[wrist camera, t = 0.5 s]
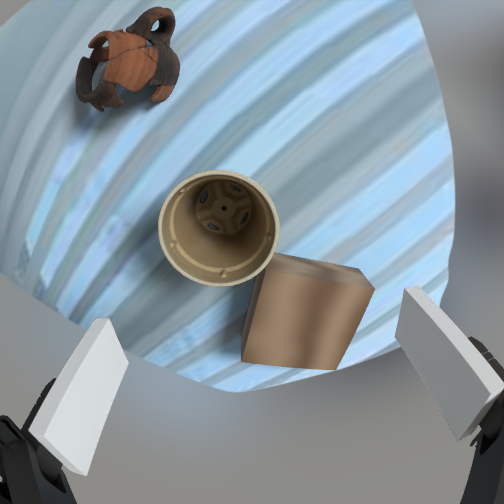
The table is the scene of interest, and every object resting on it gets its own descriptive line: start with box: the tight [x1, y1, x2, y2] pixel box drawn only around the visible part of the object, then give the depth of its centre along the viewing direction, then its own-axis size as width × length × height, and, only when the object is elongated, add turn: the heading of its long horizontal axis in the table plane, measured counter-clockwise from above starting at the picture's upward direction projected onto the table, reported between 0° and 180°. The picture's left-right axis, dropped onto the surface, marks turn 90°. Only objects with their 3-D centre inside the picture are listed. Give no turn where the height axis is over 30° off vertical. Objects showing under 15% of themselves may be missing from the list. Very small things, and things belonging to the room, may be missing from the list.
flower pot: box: [158, 170, 279, 287], centre depth 26 cm, size 9×9×9 cm
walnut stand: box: [241, 253, 375, 370], centre depth 32 cm, size 12×12×5 cm
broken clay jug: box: [76, 7, 180, 112], centre depth 21 cm, size 12×10×8 cm
